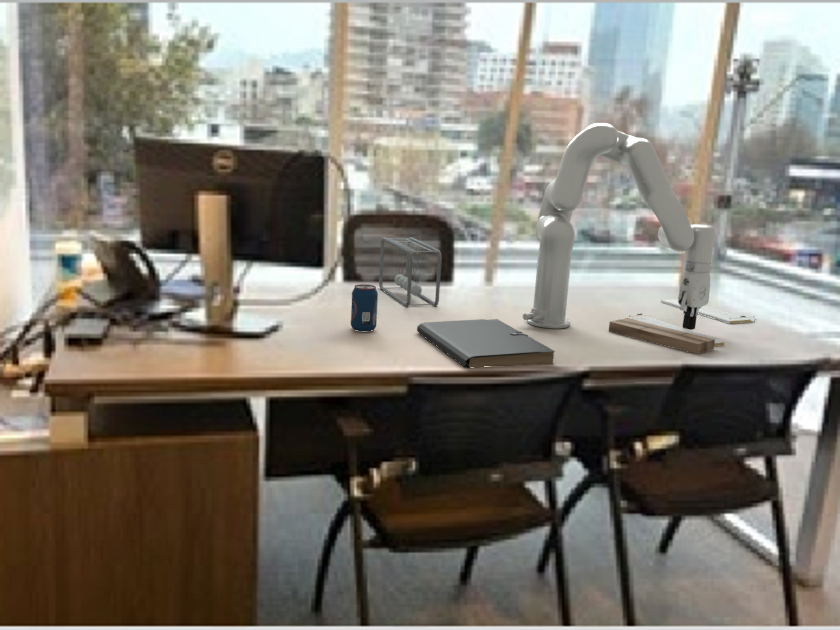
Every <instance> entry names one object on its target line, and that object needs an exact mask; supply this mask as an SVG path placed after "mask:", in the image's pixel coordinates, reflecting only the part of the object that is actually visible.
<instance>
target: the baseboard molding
mask: <svg viewBox="0 0 840 630" xmlns="http://www.w3.org/2000/svg"><path fill="white" fill-rule="evenodd" d="M660 303H662V304H664V305H668V306H671V307H674V308H677V307H678V309H680V307H681V305H679V303H678V298H674V299H673V298H672V299H660ZM687 305H688V304H687ZM698 313H699V314H702V315H706V316H709V317H712V318H715V319H718V320H721V321H724V322H727V323H726V324H728V323H737V324H741V323H740V322H750V323H756V321H757V318H755V316H752V318H754V320H753V319H750V318H749V317H746V315H737V314H733V313H731V312H727V311H724V310H720V309H717V308H713V307H710V306H708V305H705V306H702V307H701V308H700V309H699V311H698ZM699 314H698V315H699ZM702 315H701V316H702ZM709 317H708V318H709ZM712 318H711V319H712ZM715 319H714V320H715ZM718 320H717V321H718ZM721 321H720V322H721ZM724 322H723V323H724Z"/></svg>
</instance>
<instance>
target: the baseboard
mask: <svg viewBox="0 0 840 630" xmlns="http://www.w3.org/2000/svg"><path fill="white" fill-rule="evenodd" d="M636 316H638V317H635V318H634V317H632V318H631V319H634V320H638V321H642V322H646V323H650V324H654V325H658V326H662V327H666V328H670V329H674V330H678V331H682V332H686V333H691V334H695V335H699V336H703V337H707V338H711V339H715V343H714V347H719V346H718V345H722V346H725V342H724V341H723V340H722V341H721V340H720V339H719V340H718V339H716V338H713V337H711V336H710V337H709V336H707V335H705V334H704V335H703V334H702V333H701V334H700V333H698V332H696V331H695V332H694V330H689V329H685V328H683V327H680V326H678V325H675V324H671V323H668V322H665V321H663V320H659V319H657V318H654V317H651V316H646V317H639V316H643V313H637V314H636ZM630 317H631V315H629V318H630Z"/></svg>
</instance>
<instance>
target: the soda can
mask: <svg viewBox="0 0 840 630" xmlns="http://www.w3.org/2000/svg"><path fill="white" fill-rule="evenodd" d="M378 293H379V292H378V290H377V286H375V285H373V284H355V285H354V287H353V289H352V291H351V312H350V326H351V328H352V330H353V329H354V330H358V331H371V330H373V331H375V329H376V327H377V324H378V323H377V319H378V317H377V315H378V297H379V294H378ZM354 330H353V331H354Z"/></svg>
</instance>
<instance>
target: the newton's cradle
mask: <svg viewBox="0 0 840 630" xmlns="http://www.w3.org/2000/svg"><path fill="white" fill-rule="evenodd" d="M380 240H381V241H380V253H379V254H380V256H379V257H380V258H379V275H378V276H379V277H378V285H379V288H380V290H381V289H382V290H381V291H383V292H384V291H385V292H386V293H385V292H384V293H385V294H387V293H388V294H389V295H388V294H387V295H388V296H390V297H391V296H392V297H391V298H393V299H394V300H395V299H396V300H395V301H397V302H398V301H399V302H398V303H400V304H401V303H402V304H403V305H402V304H401V305H402V306H403V307H405V306H407V307H406V308H408V307H410V306H433V305H434V306H433V307H438V305H439V302H440V291H441V276H442V275H441V272H442V271H441V270H442V259H443V258H442V252H441V250H440V249H438V248H436V247H433V246H431V245H429V244H427V243H425V242H423V241H420V240H418V239H416V238H414V237H411V236H410V237H408V238H406V237H405V238H401V237H399V238H396V237H395V238H394V237H393V238H392V237H391V238H389V237H385V236H383V237H382V238H381V239H380ZM398 240H403V241H407V242H406V244H404V243H402V242H400V241H398ZM385 242H386V243H388V244H390V245H392V246H394V247H395V250H396V252H398V250H397V248H398V249H399V250H400V251H399V253H400V256H402V253H401V251H403V252H404V253H406V255H405V254H403V257H404V262H403V260H402V258H400V260H401V264H402V266H401V269H402V270H401V272H404V266H405V274H404V273H400V271H398V274H396V276H395V277H394V283H395V284H396V285H397V286H399V287H386V286H385V287H384V285H383V280H384V278H383V276H384V258H385V256H384V254H385ZM414 245H415V246H416V247H415V249H414ZM418 247H419V248H420V249H419V250H418ZM422 249H424V250H422ZM413 253H414V254H413ZM416 253H419V254H418V257H420V256H421V253H423V257H422V262H421V266H420V271H419V272H422V271H421V270H422V266H423V263H424V262H423V261H424V258H425V254H426V253H436V254H437V265H436V267H437V268H436V282H435V296H434V297H435V299H434V301H433V300H432V299H430V298H429V297H427V296H425V295H424V294H422V290H423V288H422V286H421V285H420V284H418V283H419V279H420V275H421V273H419V274H418V279H417V282H416V273H417V268H418V264H419V260H420V258H418V259H417V260H418V261H417V263H416V267H415V271H414V263H415V258H416ZM413 255H414V256H413ZM396 257H397V261H399V255H396ZM397 266H398V269H400V266H399V263H397ZM413 273H414V274H413ZM412 277H413V280H412ZM389 289H403V290H404V291H407V292H406V301H405V300H403V299H402V298H400V297H398V296H397V295H396V294H395V293H392V292H391V291H390V290H389ZM411 295H412V296H415V297H416V296H417V297H419V296H420V297H419V298H421V299H422V298H423V299H422V300H424V301H425V300H426V301H425V302H427V303H412V304H411V297H412V296H411ZM428 302H429V303H428Z"/></svg>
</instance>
